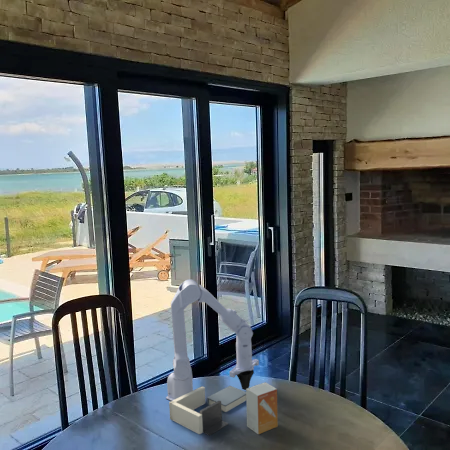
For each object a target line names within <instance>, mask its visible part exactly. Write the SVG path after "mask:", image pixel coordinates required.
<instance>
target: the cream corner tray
mask: <svg viewBox="0 0 450 450" xmlns="http://www.w3.org/2000/svg"><path fill="white" fill-rule="evenodd" d="M168 403H169V404H168V406H169V420H171V421H173V422H174V423H177V424H179V425H180V426H183V427H184V428H186V429H188V430H190V431H192V432H194V433H196V434H197V435H201V434H204V433H203V424H202V414H200V412H197V411H195V409H198V408H200V407H201V406H203V405H205V404H206V387H205V386H202V385H201V386H200V387H197V388H196V389H193V391H191V392H189V393H187V394H185V395H183V396H181V397H179V398H177V399H175V400H173V401H171V400H170V401H169V402H168Z"/></svg>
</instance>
